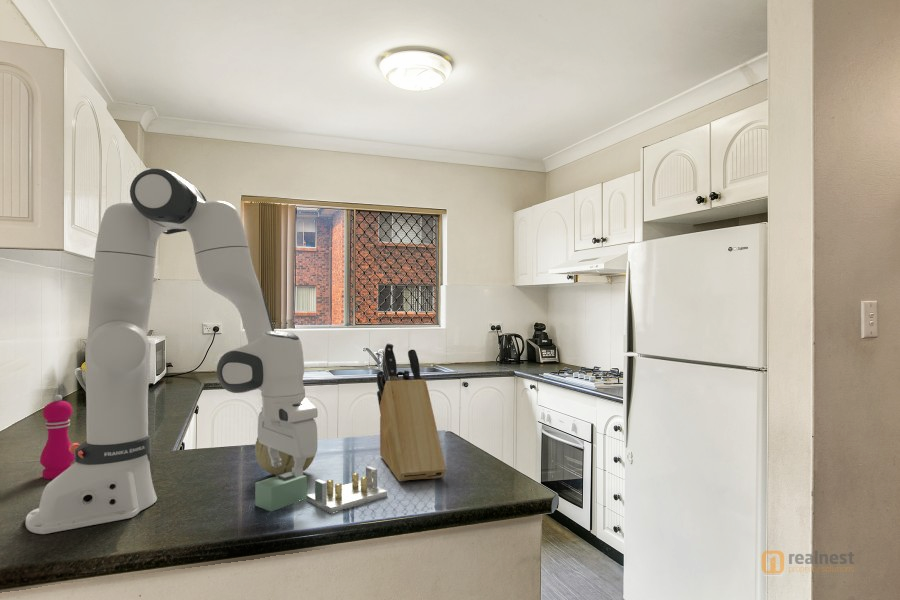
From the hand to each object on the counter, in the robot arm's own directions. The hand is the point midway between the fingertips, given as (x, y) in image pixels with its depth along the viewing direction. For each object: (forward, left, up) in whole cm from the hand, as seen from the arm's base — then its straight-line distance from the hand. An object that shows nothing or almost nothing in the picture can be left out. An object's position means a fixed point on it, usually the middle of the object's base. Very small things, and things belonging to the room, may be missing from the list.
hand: (286, 471), depth 116 cm
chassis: (+10, -8, -6) cm, 14 cm away
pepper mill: (-33, +56, -7) cm, 65 cm away
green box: (-1, 0, -7) cm, 7 cm away
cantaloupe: (+8, +16, -7) cm, 19 cm away
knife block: (+35, +3, -7) cm, 36 cm away
